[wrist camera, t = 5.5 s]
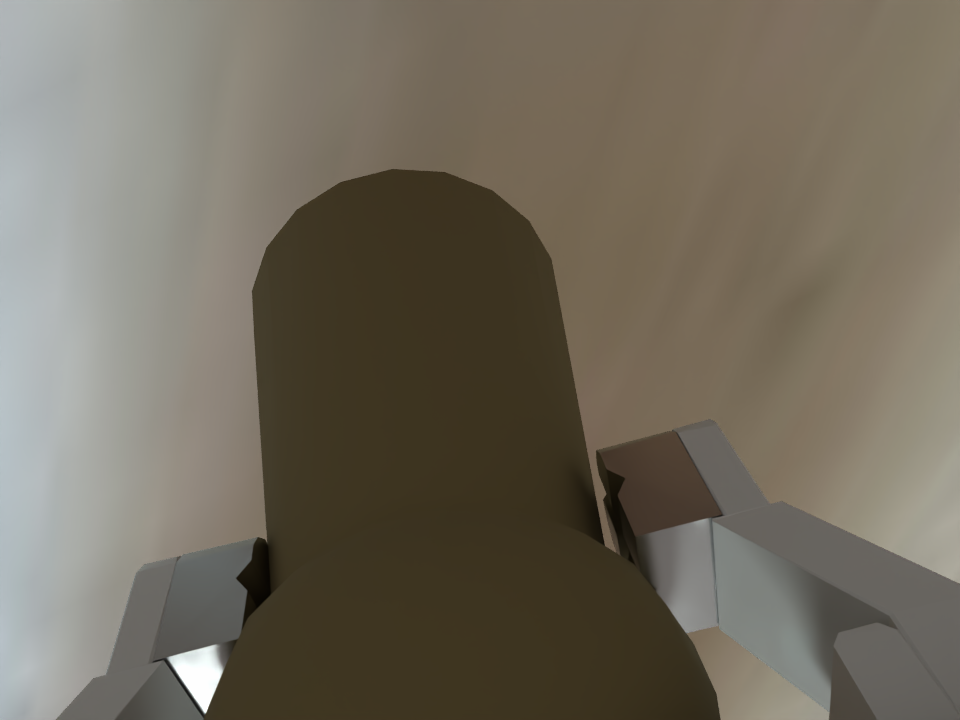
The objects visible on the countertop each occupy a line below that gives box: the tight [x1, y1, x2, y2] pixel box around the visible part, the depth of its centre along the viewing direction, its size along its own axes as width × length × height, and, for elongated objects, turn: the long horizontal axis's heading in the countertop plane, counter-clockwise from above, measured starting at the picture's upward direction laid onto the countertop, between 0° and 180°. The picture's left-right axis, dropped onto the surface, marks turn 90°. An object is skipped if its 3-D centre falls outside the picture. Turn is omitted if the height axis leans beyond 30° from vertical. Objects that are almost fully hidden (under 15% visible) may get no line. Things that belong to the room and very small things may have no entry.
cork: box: [203, 169, 720, 720], centre depth 11 cm, size 6×6×11 cm
